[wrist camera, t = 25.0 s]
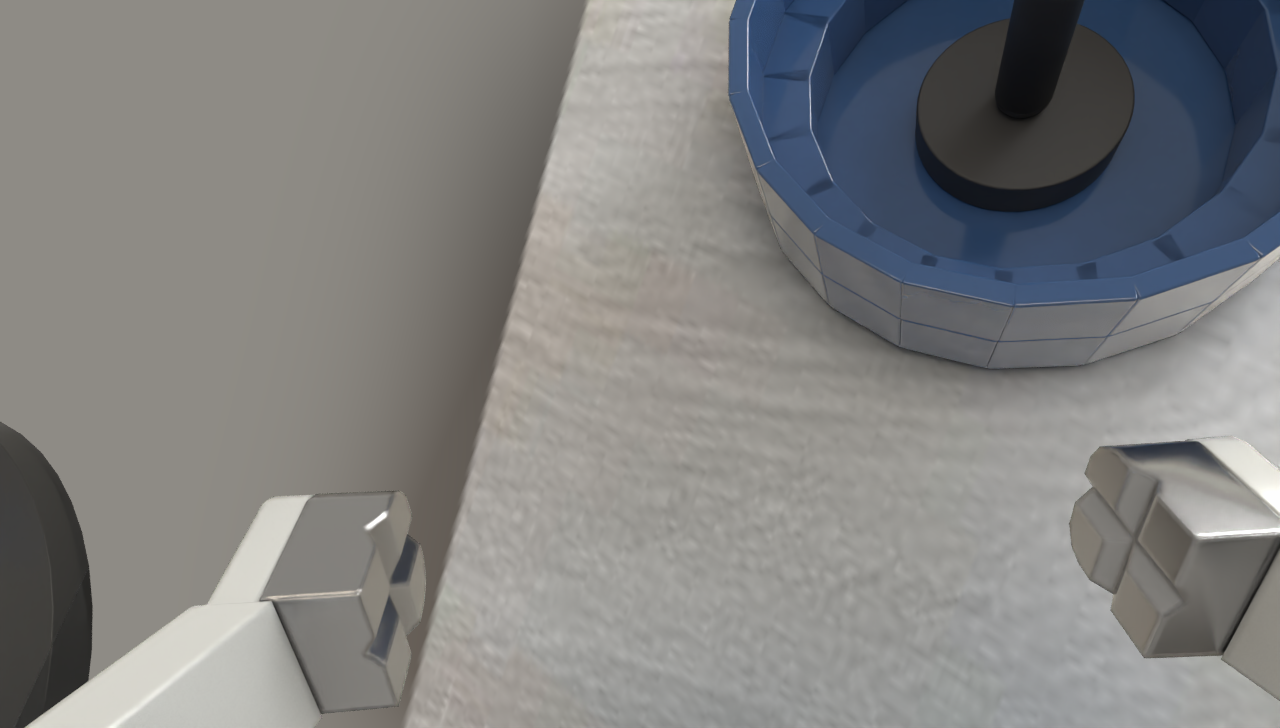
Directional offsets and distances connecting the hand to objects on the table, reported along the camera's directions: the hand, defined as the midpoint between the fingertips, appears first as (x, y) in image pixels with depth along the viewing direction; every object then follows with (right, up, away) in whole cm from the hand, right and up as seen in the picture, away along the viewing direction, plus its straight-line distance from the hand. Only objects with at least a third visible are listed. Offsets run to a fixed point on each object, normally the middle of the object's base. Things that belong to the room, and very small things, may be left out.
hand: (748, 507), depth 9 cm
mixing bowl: (+11, +9, +16) cm, 21 cm away
